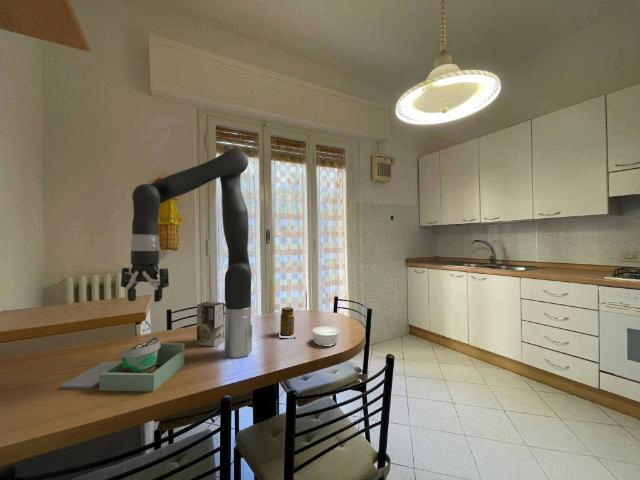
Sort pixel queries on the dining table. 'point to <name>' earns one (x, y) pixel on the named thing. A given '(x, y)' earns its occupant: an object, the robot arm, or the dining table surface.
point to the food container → (141, 357)
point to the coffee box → (210, 323)
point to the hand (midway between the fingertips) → (144, 301)
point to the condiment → (287, 322)
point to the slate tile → (88, 377)
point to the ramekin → (325, 335)
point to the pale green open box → (119, 381)
